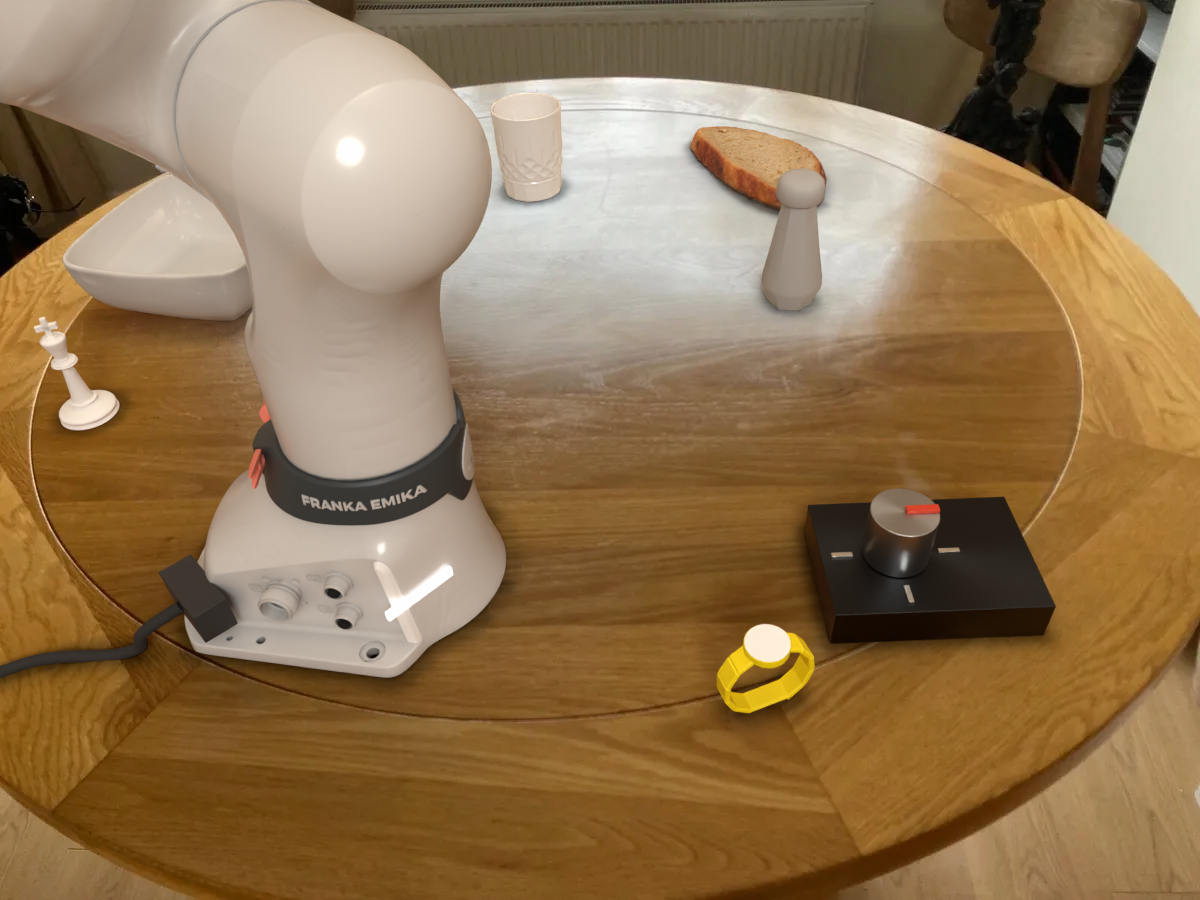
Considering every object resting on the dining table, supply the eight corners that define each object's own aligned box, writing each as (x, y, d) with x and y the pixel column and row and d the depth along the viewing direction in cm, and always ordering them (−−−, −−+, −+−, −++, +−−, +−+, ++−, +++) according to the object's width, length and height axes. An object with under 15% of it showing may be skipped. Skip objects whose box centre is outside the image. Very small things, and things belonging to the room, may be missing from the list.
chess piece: (61, 403, 86) (11, 310, 80) (119, 389, 87) (74, 296, 81) (59, 436, 83) (7, 341, 76) (119, 421, 84) (73, 327, 77)
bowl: (68, 328, 95) (34, 261, 90) (181, 227, 110) (157, 164, 105) (253, 350, 91) (228, 280, 86) (345, 242, 106) (328, 177, 101)
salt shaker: (818, 318, 91) (834, 192, 82) (757, 314, 92) (767, 188, 83) (820, 285, 95) (835, 162, 87) (762, 281, 96) (771, 159, 88)
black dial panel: (830, 644, 63) (835, 613, 61) (803, 533, 71) (807, 502, 69) (1043, 635, 63) (1057, 605, 61) (994, 525, 70) (1004, 494, 68)
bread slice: (696, 136, 122) (697, 107, 120) (839, 149, 118) (843, 120, 115) (658, 201, 110) (658, 170, 107) (817, 219, 105) (820, 187, 103)
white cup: (486, 189, 114) (476, 107, 107) (538, 168, 118) (530, 86, 111) (528, 211, 109) (520, 126, 103) (580, 188, 113) (575, 104, 106)
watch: (795, 667, 62) (804, 609, 58) (816, 702, 60) (827, 644, 56) (709, 695, 61) (713, 637, 57) (728, 732, 59) (733, 674, 55)
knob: (869, 579, 63) (879, 534, 60) (855, 530, 66) (864, 486, 64) (936, 576, 63) (949, 531, 60) (919, 528, 66) (930, 483, 64)
